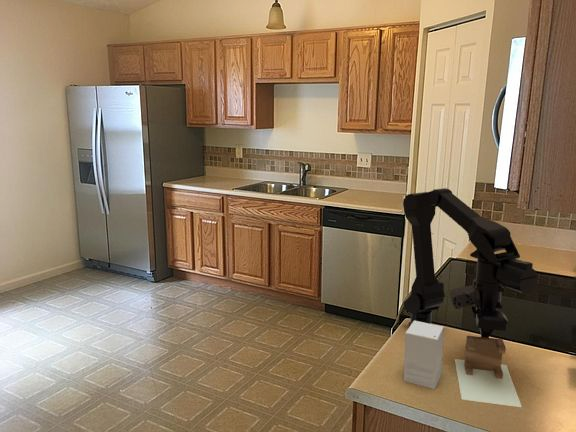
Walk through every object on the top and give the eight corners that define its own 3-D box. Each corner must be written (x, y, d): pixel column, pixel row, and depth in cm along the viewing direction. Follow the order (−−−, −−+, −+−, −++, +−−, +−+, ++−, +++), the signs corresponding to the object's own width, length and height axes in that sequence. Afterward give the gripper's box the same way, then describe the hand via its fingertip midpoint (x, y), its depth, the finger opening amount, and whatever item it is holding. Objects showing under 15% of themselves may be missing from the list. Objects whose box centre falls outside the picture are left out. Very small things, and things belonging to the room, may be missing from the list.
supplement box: (442, 374, 111) (445, 326, 108) (434, 390, 105) (437, 339, 102) (411, 366, 115) (413, 319, 112) (402, 381, 109) (404, 332, 106)
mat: (454, 360, 117) (454, 359, 117) (506, 365, 114) (506, 364, 114) (461, 400, 101) (461, 399, 101) (521, 408, 98) (521, 407, 98)
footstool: (464, 365, 114) (466, 335, 112) (499, 369, 112) (502, 339, 111) (466, 374, 110) (468, 344, 109) (502, 378, 108) (505, 347, 107)
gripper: (449, 264, 120) (445, 320, 123) (456, 291, 102) (452, 355, 106) (496, 267, 117) (491, 324, 121) (511, 295, 100) (505, 361, 103)
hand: (483, 340), depth 113 cm, fingers closed
